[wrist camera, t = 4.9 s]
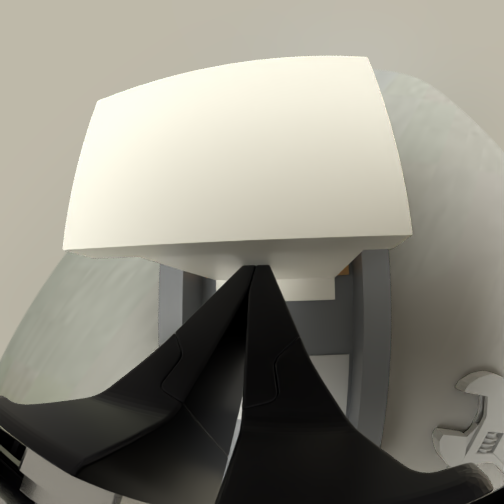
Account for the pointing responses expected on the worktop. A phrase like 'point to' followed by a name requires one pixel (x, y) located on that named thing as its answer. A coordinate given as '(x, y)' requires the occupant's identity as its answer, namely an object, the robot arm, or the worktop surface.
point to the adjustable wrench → (477, 425)
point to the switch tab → (244, 173)
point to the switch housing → (319, 334)
